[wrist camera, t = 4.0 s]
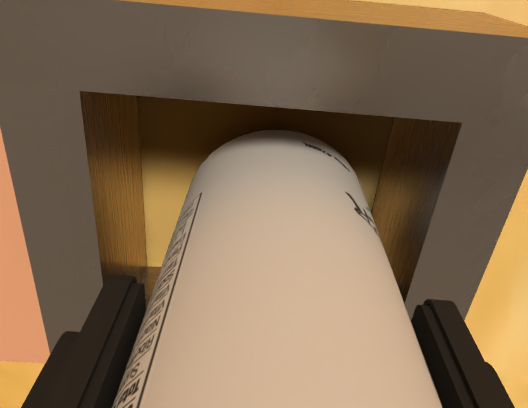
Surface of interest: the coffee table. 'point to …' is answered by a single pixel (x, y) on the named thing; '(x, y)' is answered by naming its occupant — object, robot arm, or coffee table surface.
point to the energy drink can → (276, 292)
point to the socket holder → (259, 94)
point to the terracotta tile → (17, 283)
